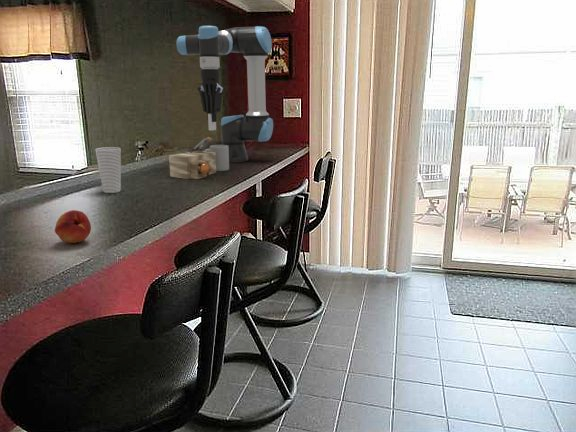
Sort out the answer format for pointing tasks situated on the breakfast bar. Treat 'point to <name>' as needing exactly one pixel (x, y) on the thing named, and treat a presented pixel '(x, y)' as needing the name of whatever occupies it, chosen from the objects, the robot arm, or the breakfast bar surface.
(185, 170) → the block
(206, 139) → the plate
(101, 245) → the breakfast bar surface
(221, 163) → the mug
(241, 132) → the robot arm
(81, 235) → the fruit
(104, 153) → the cup
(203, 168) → the pin
